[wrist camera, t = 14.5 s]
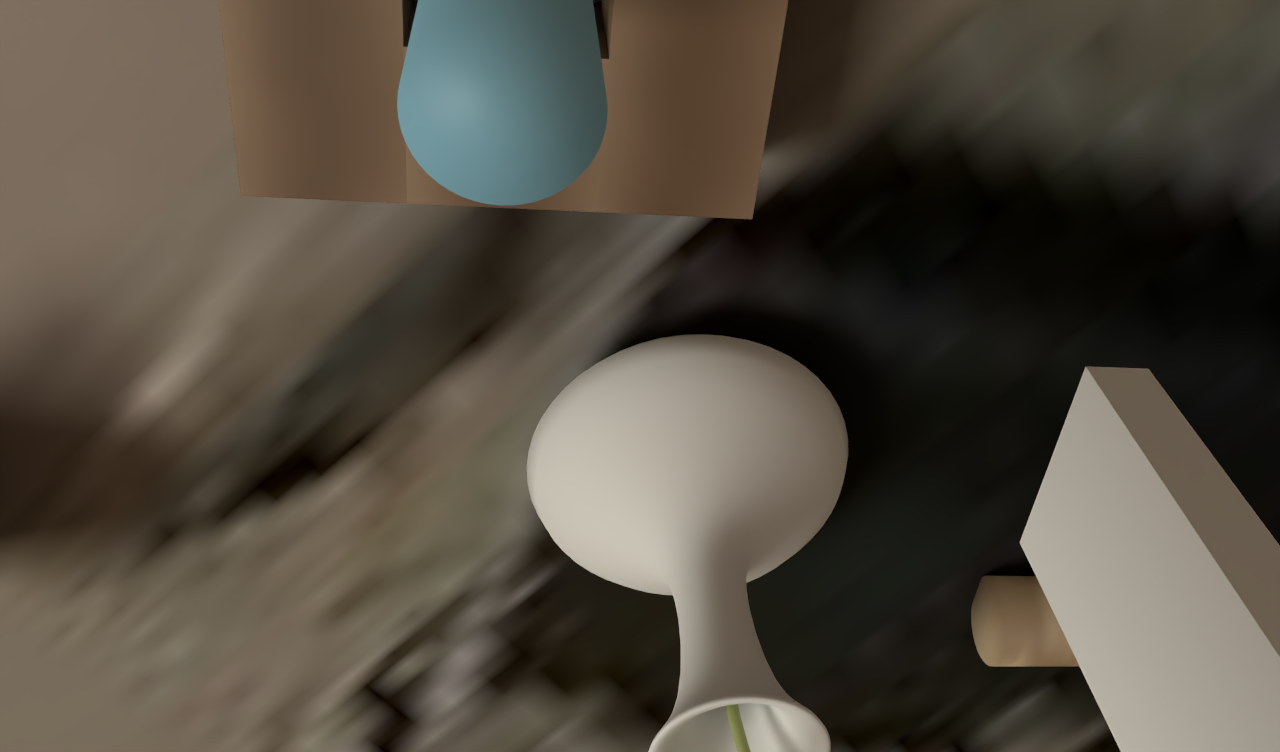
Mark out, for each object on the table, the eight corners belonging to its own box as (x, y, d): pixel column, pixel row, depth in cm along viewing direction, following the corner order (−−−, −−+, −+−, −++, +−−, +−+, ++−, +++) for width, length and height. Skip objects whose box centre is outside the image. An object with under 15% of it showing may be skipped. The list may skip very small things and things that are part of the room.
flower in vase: (490, 344, 40) (456, 1185, 20) (822, 277, 39) (1137, 1069, 19) (574, 604, 48) (612, 1401, 27) (853, 550, 47) (1101, 1323, 27)
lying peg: (1303, 652, 47) (1251, 675, 50) (1276, 565, 48) (1228, 593, 52) (1014, 652, 45) (980, 676, 48) (997, 563, 47) (966, 591, 50)
